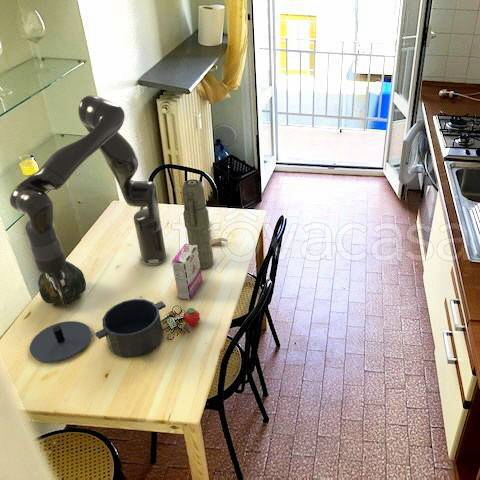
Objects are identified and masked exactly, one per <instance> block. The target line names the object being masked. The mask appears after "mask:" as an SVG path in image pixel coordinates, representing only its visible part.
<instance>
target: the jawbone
mask: <svg viewBox="0 0 480 480" xmlns="http://www.w3.org/2000/svg"><path fill="white" fill-rule="evenodd" d="M208 227H209V237H210V245H211V246H212V245H219V246H222V242H225V243H226V242H228V241H229V240H228V239H227V238H224V237H219V238H212V236H211V229H210V227H211V222H210V221H209V226H208Z"/></svg>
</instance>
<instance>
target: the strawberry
mask: <svg viewBox="0 0 480 480" xmlns="http://www.w3.org/2000/svg"><path fill="white" fill-rule="evenodd" d="M200 317H201V316H200V313H199V311H198V310H196V309H195V308H194V307H189V308H187V309H186V311H185V313H184V315H183V319H184V322H185V323H186V324H187V326H188V327H189V328H195V327H197V326H198V323H199V321H200Z"/></svg>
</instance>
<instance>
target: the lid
mask: <svg viewBox="0 0 480 480" xmlns="http://www.w3.org/2000/svg"><path fill="white" fill-rule="evenodd" d="M91 339H92V331H91V328H90V327H89V326H88V325H87V324H85V323H84V322H80V321H76V320H75V321H74V320H68V321H62V322H58V323H54V324H52V325H50V326H48V327H46V328H44V329H42V330H41V331H39V332H38V333H37V334H36V335H35V336H33V339H32V340H31V342H30V345H29V352H30V355H31V357H32V358H33V359H35V360H37V361H39V362H42V363H57V362H59V363H60V362H63V361H66V360H69V359H71V358H73V357H75V356H77V355H78V354H79V353H81V352H83V351H84V350H85V349H86V348H87V347H88V345H89V344H90V342H91Z"/></svg>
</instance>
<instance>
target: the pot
mask: <svg viewBox="0 0 480 480" xmlns="http://www.w3.org/2000/svg"><path fill="white" fill-rule="evenodd" d="M166 307H167V305H166V304H165V302H163V301H162V300H160V301H159V302H156V303H155V302H153V301H150V300H148V299H145V298H144V299H142V298H132V299H128V300H124V301H121V302H119V303H117V304H115V305H113V306H112V307H110V309H108V310H107V311H106V312H105V314H104V316H103V317H102V319H101V322H102V329H100V330H98V331H96V332H94V334H95V336H96V337H97V339H98V340H102V339H103V338H106V339H105V341H106V343H107V347H108V349H109V351H110V352H111V353H112V354H113V355H115V356H117V357H119V358H123V359H134V358H140V357H143V356H146V355H148V354H150V353H151V352H153V351H155V350H156V349H157V348H158V347H159V346H160V345H161V344H162V342H163V339H164V330H163V326H162V320H161V314H160V310H162V309H164V308H166Z"/></svg>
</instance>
